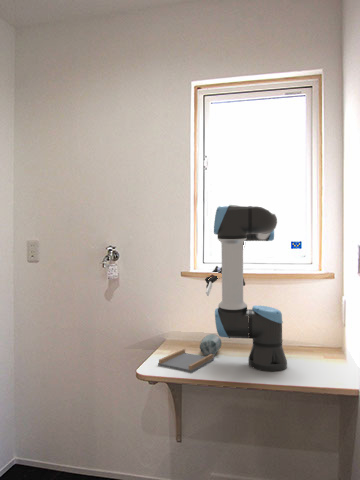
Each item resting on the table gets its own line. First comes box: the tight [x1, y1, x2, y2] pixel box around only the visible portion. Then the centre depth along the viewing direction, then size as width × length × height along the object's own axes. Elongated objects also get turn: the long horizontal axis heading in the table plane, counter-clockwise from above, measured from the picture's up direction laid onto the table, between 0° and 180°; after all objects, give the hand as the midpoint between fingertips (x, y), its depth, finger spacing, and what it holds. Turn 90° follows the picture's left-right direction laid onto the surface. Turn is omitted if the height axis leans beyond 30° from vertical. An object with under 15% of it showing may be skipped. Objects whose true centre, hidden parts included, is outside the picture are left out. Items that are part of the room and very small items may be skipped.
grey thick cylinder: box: [199, 333, 222, 357], centre depth 169 cm, size 14×10×10 cm
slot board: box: [157, 348, 215, 374], centre depth 156 cm, size 16×18×2 cm
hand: (220, 295), depth 179 cm, fingers open, 13 cm apart
